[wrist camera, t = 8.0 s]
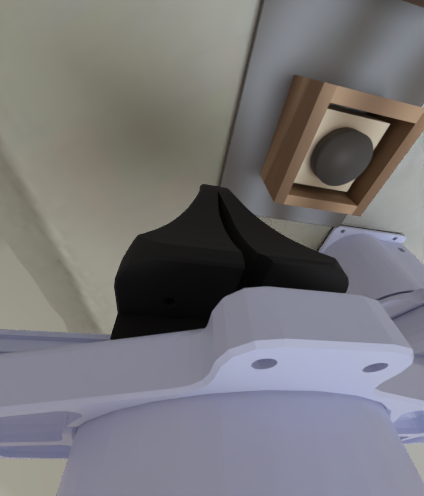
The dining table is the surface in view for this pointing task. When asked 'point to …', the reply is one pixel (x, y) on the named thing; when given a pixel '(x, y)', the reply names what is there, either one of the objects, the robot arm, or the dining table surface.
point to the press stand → (324, 100)
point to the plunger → (340, 149)
